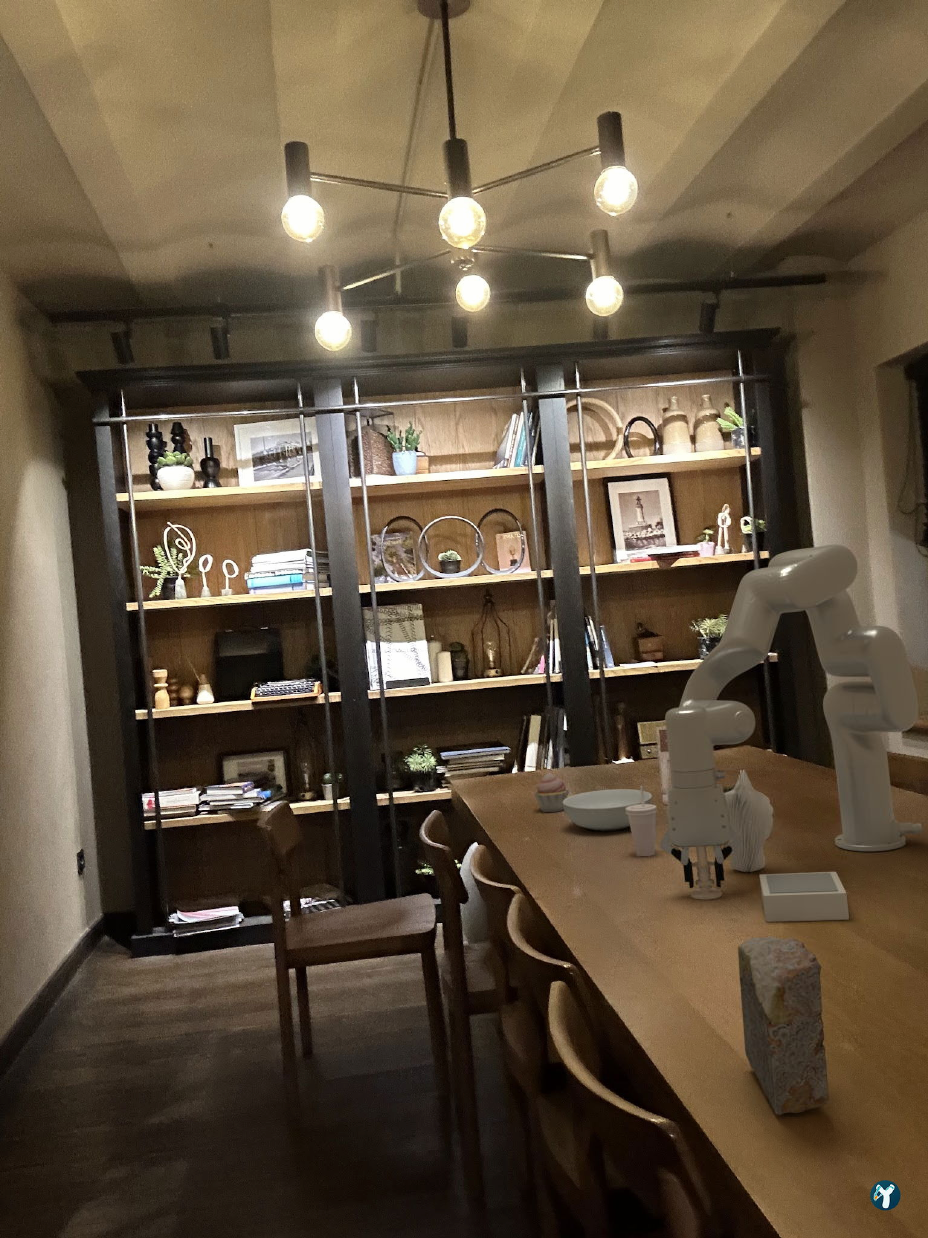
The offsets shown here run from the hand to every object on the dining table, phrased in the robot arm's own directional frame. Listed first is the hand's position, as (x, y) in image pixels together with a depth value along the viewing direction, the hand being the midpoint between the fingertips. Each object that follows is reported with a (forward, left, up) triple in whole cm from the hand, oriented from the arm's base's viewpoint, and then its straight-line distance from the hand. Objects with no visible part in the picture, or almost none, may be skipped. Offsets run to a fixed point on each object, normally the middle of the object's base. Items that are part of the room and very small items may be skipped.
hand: (705, 884), depth 165 cm
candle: (0, 0, -2) cm, 2 cm away
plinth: (-15, +9, -2) cm, 18 cm away
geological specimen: (-8, +68, -2) cm, 69 cm away
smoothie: (+12, -30, -2) cm, 32 cm away
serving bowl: (+22, -58, -2) cm, 62 cm away
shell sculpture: (-8, -15, -2) cm, 17 cm away
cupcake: (+39, -81, -2) cm, 90 cm away
